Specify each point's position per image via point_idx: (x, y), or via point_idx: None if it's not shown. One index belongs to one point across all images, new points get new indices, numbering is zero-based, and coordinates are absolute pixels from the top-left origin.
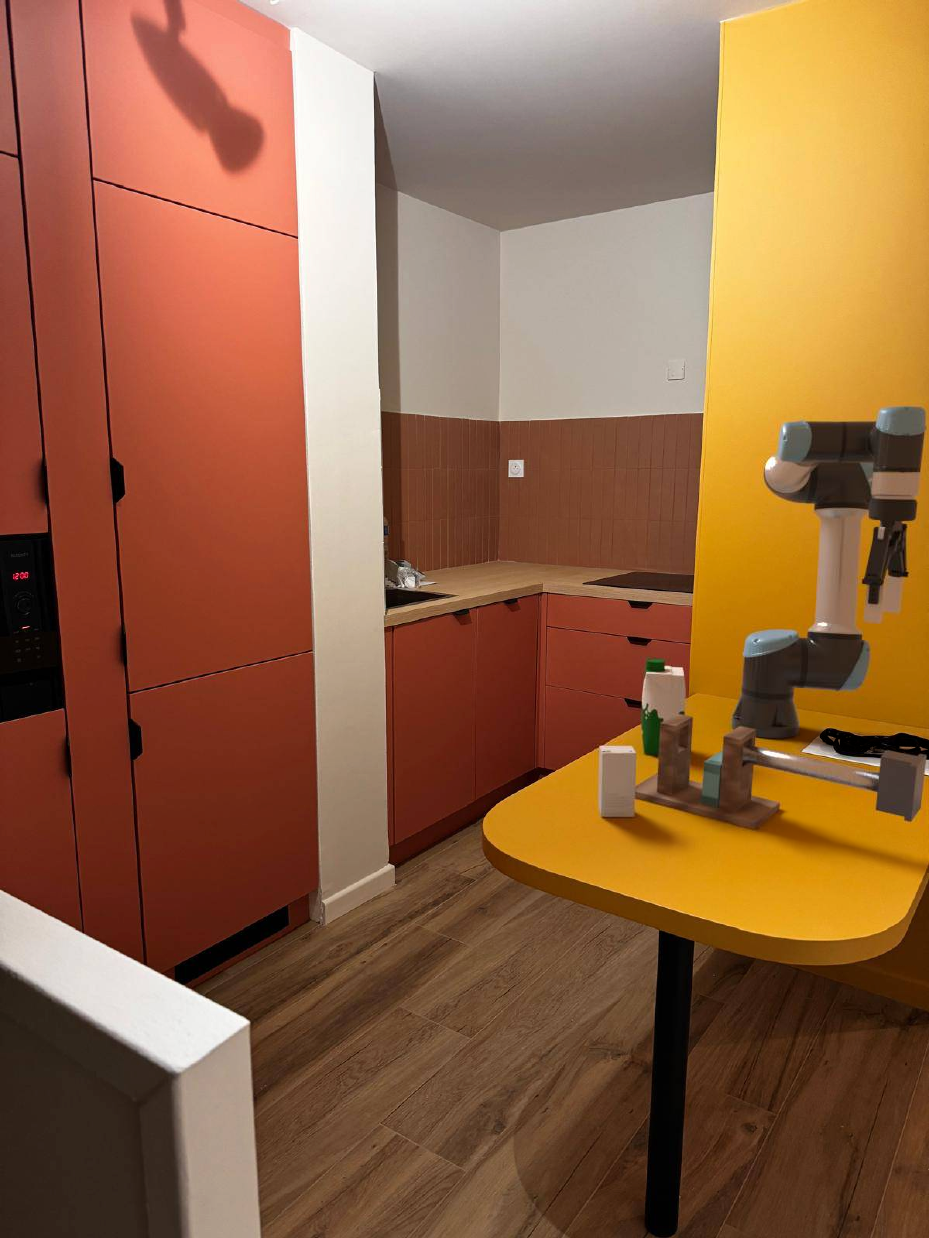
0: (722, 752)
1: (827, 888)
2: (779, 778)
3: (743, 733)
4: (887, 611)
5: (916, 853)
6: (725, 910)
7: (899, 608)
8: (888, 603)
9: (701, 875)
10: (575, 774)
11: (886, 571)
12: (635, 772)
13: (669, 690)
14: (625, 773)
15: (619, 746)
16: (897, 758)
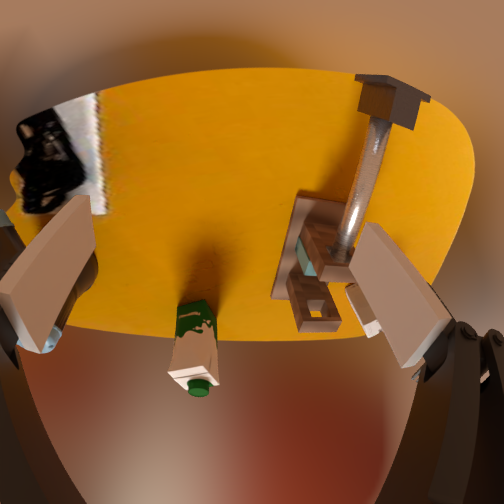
0: (310, 272)
1: (428, 147)
2: (206, 212)
3: (345, 271)
4: (92, 233)
5: (347, 75)
6: (458, 201)
7: (76, 203)
8: (80, 251)
9: (428, 221)
10: (291, 334)
11: (454, 383)
12: None
13: (212, 358)
14: None
15: (368, 330)
16: (412, 112)
